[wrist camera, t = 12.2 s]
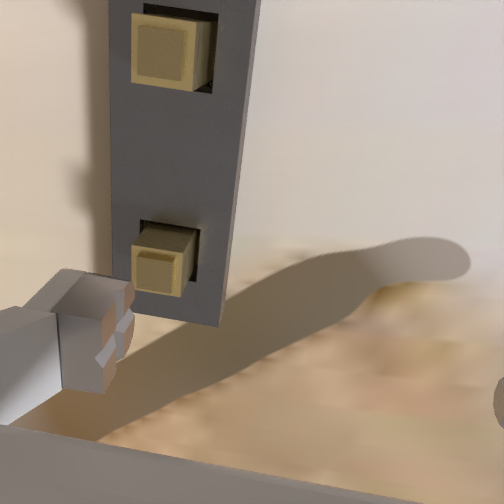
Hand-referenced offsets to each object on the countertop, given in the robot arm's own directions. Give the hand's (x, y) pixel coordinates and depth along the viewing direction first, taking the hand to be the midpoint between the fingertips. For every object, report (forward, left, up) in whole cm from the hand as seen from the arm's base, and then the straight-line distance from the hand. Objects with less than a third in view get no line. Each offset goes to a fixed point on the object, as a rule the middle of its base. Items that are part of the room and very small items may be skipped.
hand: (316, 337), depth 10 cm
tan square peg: (+10, -3, -29) cm, 31 cm away
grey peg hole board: (+10, +5, -29) cm, 31 cm away
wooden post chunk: (+10, +13, -29) cm, 33 cm away
